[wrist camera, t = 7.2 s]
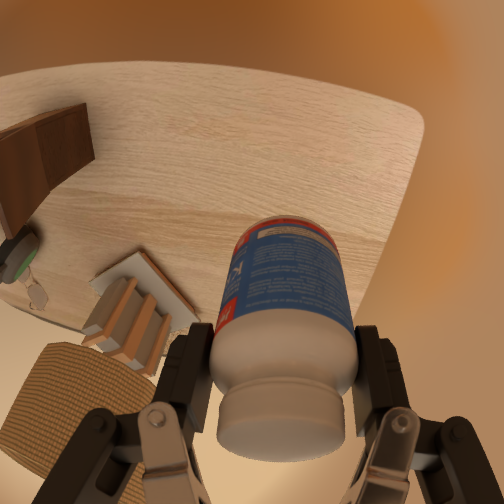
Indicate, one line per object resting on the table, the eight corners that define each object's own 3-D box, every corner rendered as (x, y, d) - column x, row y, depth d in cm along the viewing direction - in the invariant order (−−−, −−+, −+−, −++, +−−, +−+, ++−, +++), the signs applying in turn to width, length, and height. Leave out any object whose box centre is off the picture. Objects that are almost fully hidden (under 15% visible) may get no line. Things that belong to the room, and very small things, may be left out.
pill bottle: (228, 211, 15) (172, 394, 7) (342, 211, 15) (393, 397, 7) (237, 298, 18) (208, 463, 10) (332, 299, 18) (350, 466, 10)
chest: (48, 165, 41) (2, 197, 32) (38, 114, 36) (-13, 137, 27) (95, 159, 40) (49, 191, 31) (85, 102, 36) (34, 122, 26)
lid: (7, 240, 22) (13, 238, 22) (-21, 151, 18) (-14, 149, 18) (44, 194, 31) (50, 192, 31) (28, 124, 26) (34, 122, 26)
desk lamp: (78, 273, 53) (-20, 436, 23) (149, 225, 46) (24, 450, 17) (146, 342, 61) (90, 502, 32) (223, 313, 54) (181, 523, 25)
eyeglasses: (51, 302, 58) (42, 314, 55) (32, 302, 60) (23, 313, 57) (18, 248, 51) (6, 260, 48) (1, 252, 53) (-10, 263, 50)
